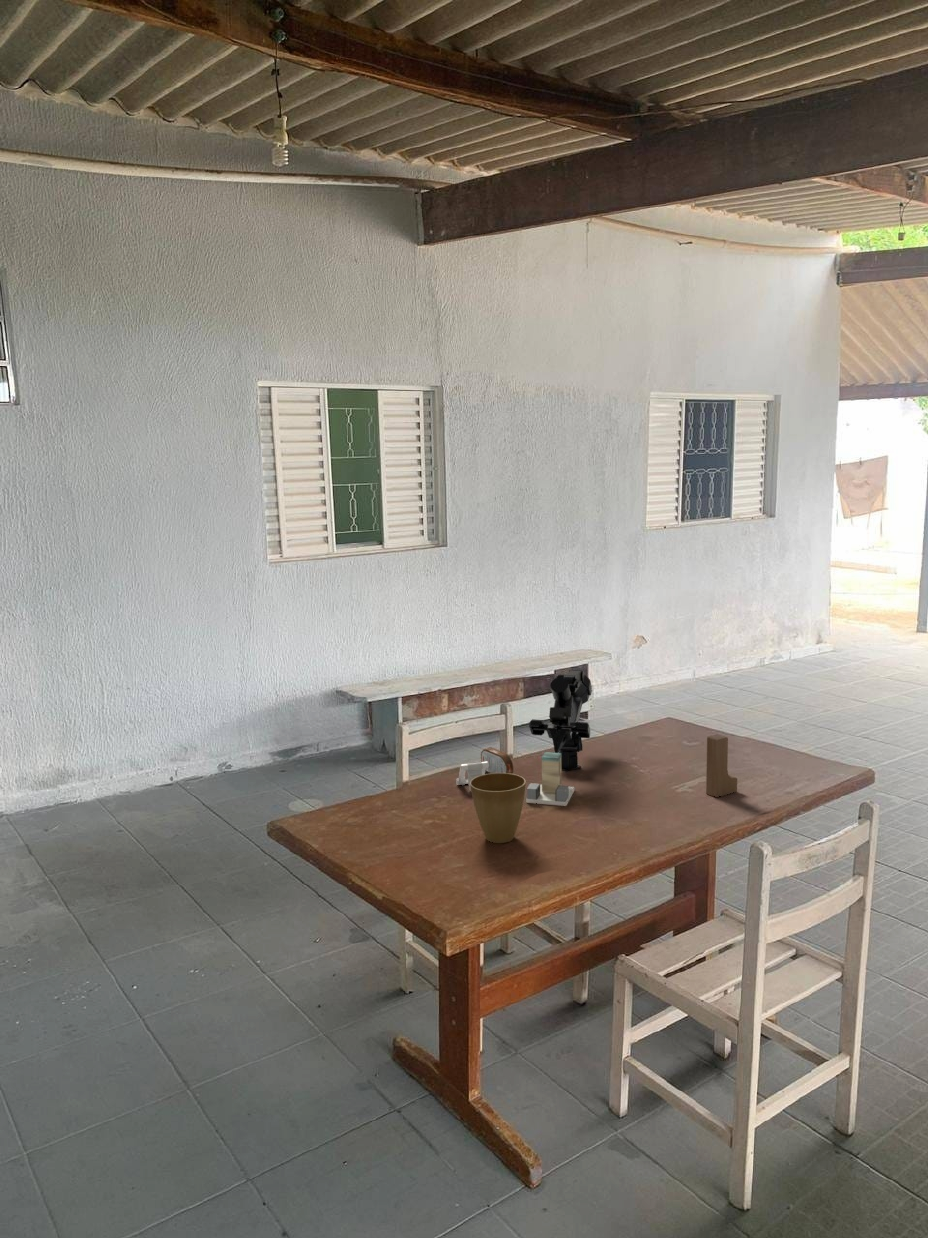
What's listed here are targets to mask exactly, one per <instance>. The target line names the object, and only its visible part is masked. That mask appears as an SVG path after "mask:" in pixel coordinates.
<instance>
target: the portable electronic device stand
mask: <svg viewBox="0 0 928 1238" xmlns="http://www.w3.org/2000/svg"><path fill="white" fill-rule="evenodd" d="M488 767H489V764H488V762H487V761H486V762H481V761H479V762H474V763H473V762H472V763H463V764H460V766H459V774H458V778H456V779H455V782H456V783H455V784H456V786H457V785H462V786H466V785H465V784H468V788H469V789H468V790H469V792H470V791H471V787H470V781H471V780H472V779H473V778H475V777H477V776H480V775H484V774H486V771H485V770H486V768H488ZM466 775H467V777H466Z"/></svg>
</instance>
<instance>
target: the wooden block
mask: <svg viewBox="0 0 928 1238" xmlns="http://www.w3.org/2000/svg"><path fill="white" fill-rule="evenodd" d="M728 745H729V737H728V736H724V735H721V734H718V733H716V734H712V735H709V736H707V737H706V771H705V772H706V774H705V775H706V776H705V777H706V778H705V779H706V781H705V782H706V784H705V786H706V787H705V794H706V795H708V796H711V797H714V796H715V797H714V798H716V797H718V798H720V797H719V796H721V797H724V796H727V794H728V795H731V794H734V793H737V792H738V777H735V776H733V775H729V771H728V770H729V769H728V761H729V760H728V759H729V757H728V753H729V749H728V748H729V746H728ZM736 791H737V792H736ZM733 792H734V793H733ZM730 793H731V794H730Z"/></svg>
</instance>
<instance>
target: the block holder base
mask: <svg viewBox="0 0 928 1238" xmlns="http://www.w3.org/2000/svg"><path fill="white" fill-rule="evenodd" d="M574 792H575V786H570V785H558V787H557V789H556V791H555V793H548V792H542V783H534V782H532V783H529V784H528V786H527V788H526V799H525V800H526V804H527V803H528V804H536V803H537V804H538V805H550V806H551V805H552V806H560V807H561V806H564V807H567V806H568V803H569V802H570V800H571V798H572V796H573V794H574Z"/></svg>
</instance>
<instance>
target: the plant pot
mask: <svg viewBox="0 0 928 1238" xmlns="http://www.w3.org/2000/svg"><path fill="white" fill-rule="evenodd" d="M526 782H527V781H526V779H525V778H524V777H523V776H521V775H518V774H515V773H513V774H511V773H485V774H484V775H480V776H477V777H475V778H473V779H472V780H471V781H470V787H471V795H472V796H471V797H472V801H473V805H474V808H475V812H476V815H477V819H478V822H479V824H480V827H481V830H482V832H483V834H484V836H485V839H486V840H487V841H488V842H489V841H490V842H489V843H492V842H493V844H504V843H508V842H511V841H513V840H514V838H515V835H516V832H517V828H518V826H519V823H520V819H521V816H522V809H523V805H524V799H525V791H526Z"/></svg>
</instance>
